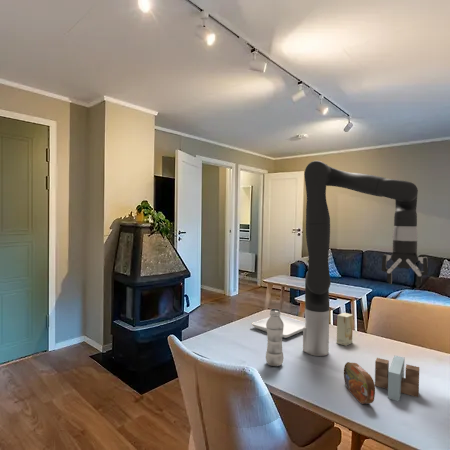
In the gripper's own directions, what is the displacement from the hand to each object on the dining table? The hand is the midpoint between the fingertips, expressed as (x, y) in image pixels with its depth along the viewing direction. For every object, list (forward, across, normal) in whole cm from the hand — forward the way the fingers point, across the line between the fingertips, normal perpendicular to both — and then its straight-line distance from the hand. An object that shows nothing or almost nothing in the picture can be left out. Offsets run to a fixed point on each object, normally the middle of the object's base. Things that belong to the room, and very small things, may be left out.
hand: (403, 285), depth 116 cm
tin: (+30, +9, +26) cm, 41 cm away
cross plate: (+30, 0, +16) cm, 34 cm away
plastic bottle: (+30, +39, +22) cm, 54 cm away
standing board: (+30, 0, +16) cm, 34 cm away
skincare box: (+30, +23, -14) cm, 41 cm away
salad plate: (+31, +52, -14) cm, 62 cm away
